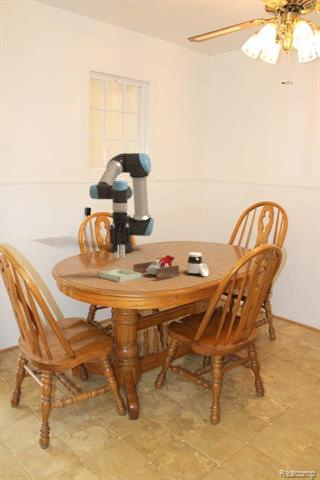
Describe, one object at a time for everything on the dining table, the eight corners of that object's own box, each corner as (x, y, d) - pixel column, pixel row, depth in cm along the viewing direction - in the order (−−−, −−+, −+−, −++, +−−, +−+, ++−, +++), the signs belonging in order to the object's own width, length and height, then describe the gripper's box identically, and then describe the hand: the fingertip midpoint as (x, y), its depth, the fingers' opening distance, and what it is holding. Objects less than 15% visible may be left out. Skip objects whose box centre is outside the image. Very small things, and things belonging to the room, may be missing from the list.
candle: (145, 269, 222) (163, 247, 222) (161, 282, 222) (179, 260, 222) (145, 271, 213) (163, 248, 213) (162, 285, 213) (180, 262, 213)
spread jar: (188, 272, 230) (188, 251, 228) (208, 273, 228) (209, 252, 227) (186, 277, 218) (187, 255, 217) (208, 277, 216) (208, 255, 215)
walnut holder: (133, 275, 219) (133, 264, 218) (155, 271, 231) (155, 261, 230) (157, 280, 207) (157, 268, 206) (179, 276, 219) (179, 265, 218)
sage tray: (97, 276, 214) (97, 271, 214) (119, 273, 225) (119, 268, 224) (119, 282, 202) (119, 276, 202) (141, 278, 213) (141, 273, 213)
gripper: (112, 212, 201) (112, 260, 204) (136, 211, 213) (136, 257, 215) (102, 211, 207) (102, 258, 209) (127, 211, 218) (126, 255, 221)
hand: (119, 257), depth 212 cm, fingers open, 3 cm apart
